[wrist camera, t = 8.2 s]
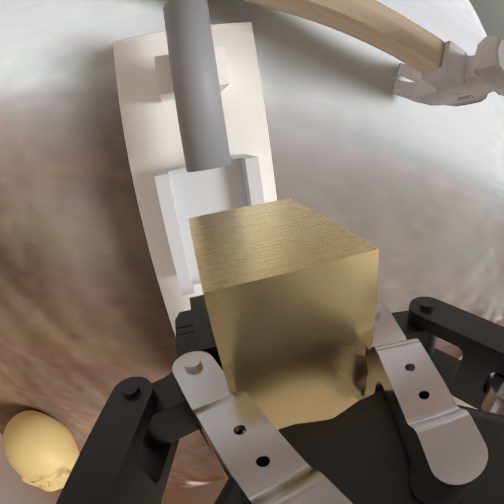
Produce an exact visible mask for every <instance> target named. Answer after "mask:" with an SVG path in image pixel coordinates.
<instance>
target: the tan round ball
mask: <svg viewBox="0 0 504 504" xmlns="http://www.w3.org/2000/svg"><path fill="white" fill-rule="evenodd" d="M3 447H4V452H5V455H6V457H7V459H8V461H9V463H10V464H11V466H12V467H13V468H14V469H15V470H16V471H17V472H18V473H19V474H20V475H21V478H22V481H24V482H26V483H28V484H30V485H34V486H37V487H39V488H41V489H43V490H45V491H48V492H51V491H55V490H58V489H61V488H63V487H64V485H65V483H66V481H67V479H68V477H69V475H70V473H71V471H72V469H73V467H74V465H75V462H76V460H77V458H78V456H79V451H78V448H77V445H76V443H75V440H74V438H73V436H72V435H71V433H70V432H69V430H68V429H67V428H66V427H65V426H64V425H63V424H61V423H60V422H58V421H57V420H55V419H54V418H52V417H50V416H48V415H46V414H43V413H41V412H37V411H32V410H27V411H23V412H20V413H18V414H16V415H15V416H14V417H13V418H12V419H11V420H10V421H9V422H8V424H7V425H6V428H5V430H4V434H3Z"/></svg>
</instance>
